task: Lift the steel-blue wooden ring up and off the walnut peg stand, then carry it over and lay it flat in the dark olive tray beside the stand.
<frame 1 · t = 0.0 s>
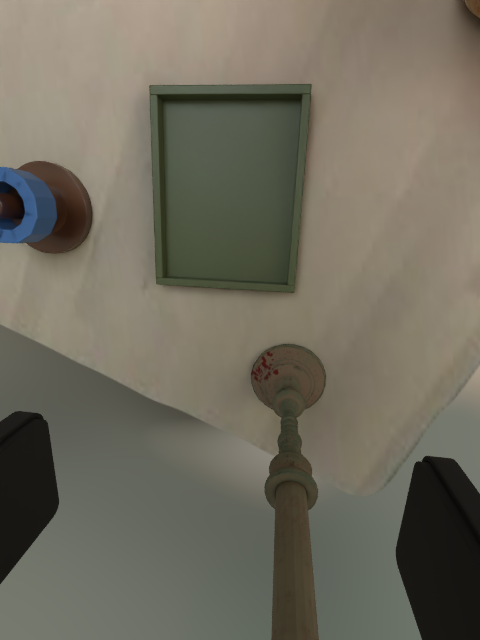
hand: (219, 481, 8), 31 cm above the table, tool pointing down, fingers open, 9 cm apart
candlestick holder: (287, 377, 41), on the table
tray: (228, 196, 36), on the table
stand: (52, 209, 39), on the table
ring: (25, 207, 35), point 4 cm above the table, touching stand
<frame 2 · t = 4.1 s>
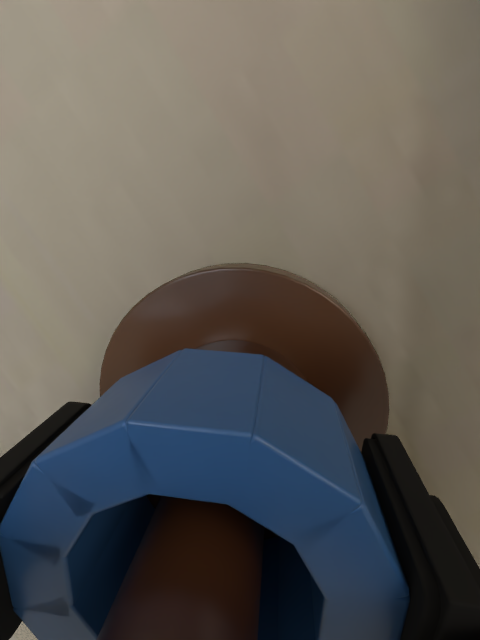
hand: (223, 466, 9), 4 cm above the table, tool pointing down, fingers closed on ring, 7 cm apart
stand: (240, 396, 13), on the table
ring: (220, 477, 9), point 4 cm above the table, touching gripper, stand
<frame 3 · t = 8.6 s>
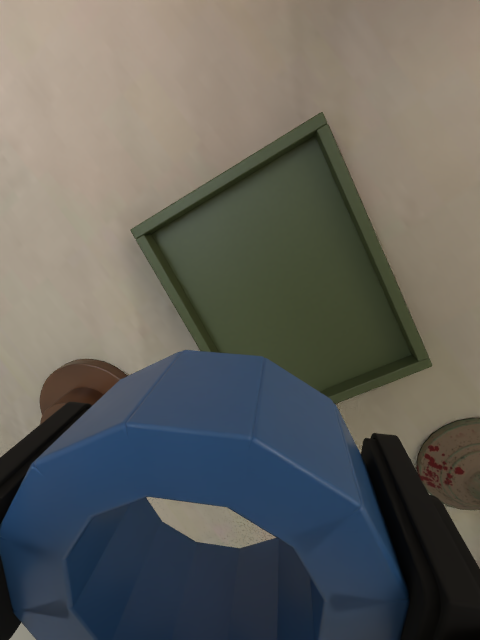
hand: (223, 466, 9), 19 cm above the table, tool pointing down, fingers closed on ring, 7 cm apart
candlestick holder: (470, 461, 29), on the table
tray: (281, 292, 27), on the table
stand: (96, 406, 32), on the table
ring: (220, 478, 9), point 20 cm above the table, touching gripper
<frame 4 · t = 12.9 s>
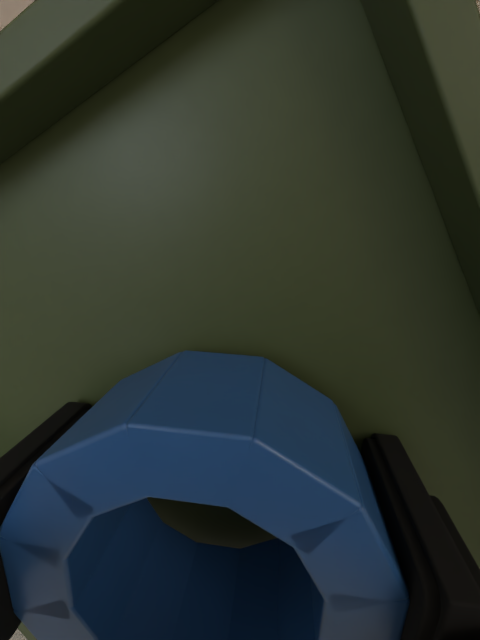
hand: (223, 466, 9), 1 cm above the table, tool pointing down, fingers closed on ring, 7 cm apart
tray: (227, 447, 10), on the table
ring: (220, 478, 9), point 1 cm above the table, touching gripper
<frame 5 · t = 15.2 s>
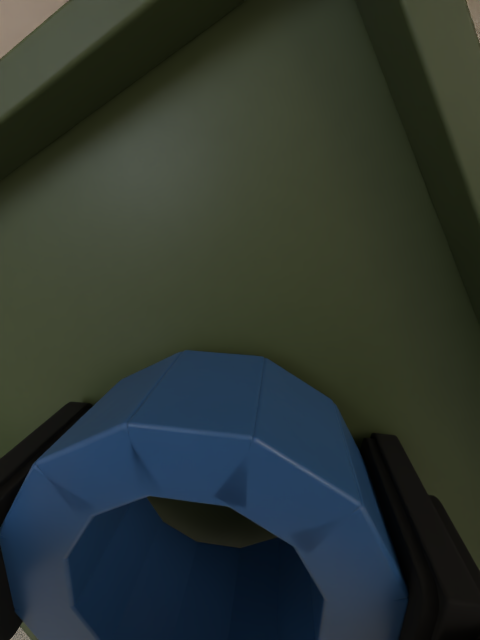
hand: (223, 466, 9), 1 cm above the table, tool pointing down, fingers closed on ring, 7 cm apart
tray: (230, 451, 10), on the table
ring: (220, 478, 9), point 1 cm above the table, touching gripper
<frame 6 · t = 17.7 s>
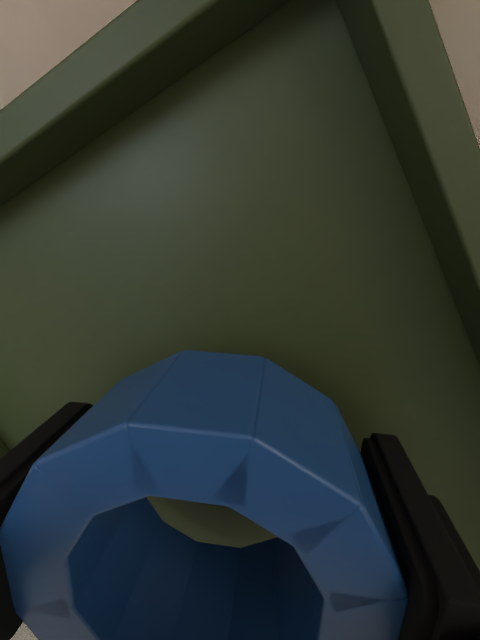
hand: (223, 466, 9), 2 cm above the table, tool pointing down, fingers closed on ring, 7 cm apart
tray: (234, 436, 11), on the table
ring: (220, 478, 9), point 2 cm above the table, touching gripper
when the fingers open (2 cm above the table, at t = 22.1 s): ring drops 1 cm, resting on tray.
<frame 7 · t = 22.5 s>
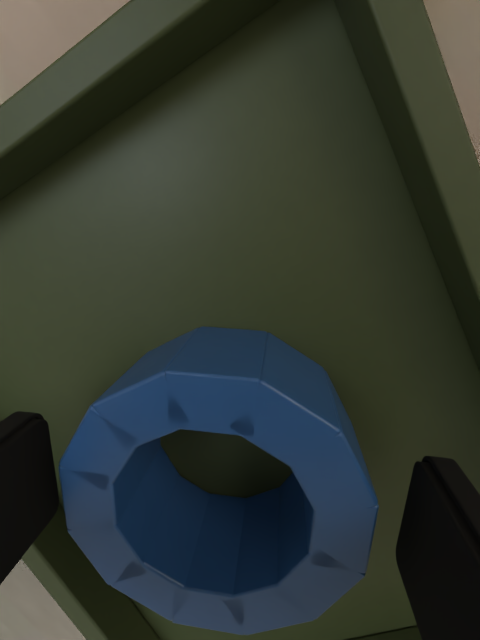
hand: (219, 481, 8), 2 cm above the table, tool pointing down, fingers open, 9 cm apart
tray: (233, 425, 11), on the table
ring: (230, 436, 10), point 1 cm above the table, touching tray
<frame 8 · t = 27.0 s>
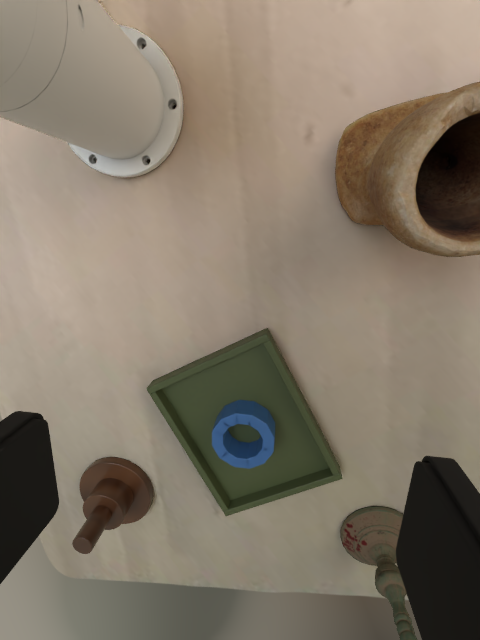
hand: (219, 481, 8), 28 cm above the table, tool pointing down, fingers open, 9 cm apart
candlestick holder: (376, 532, 43), on the table
tray: (246, 423, 40), on the table
stand: (118, 487, 46), on the table
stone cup: (417, 175, 31), on the table
ring: (245, 426, 40), point 1 cm above the table, touching tray
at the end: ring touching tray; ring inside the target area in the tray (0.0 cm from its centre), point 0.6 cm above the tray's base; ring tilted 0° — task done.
